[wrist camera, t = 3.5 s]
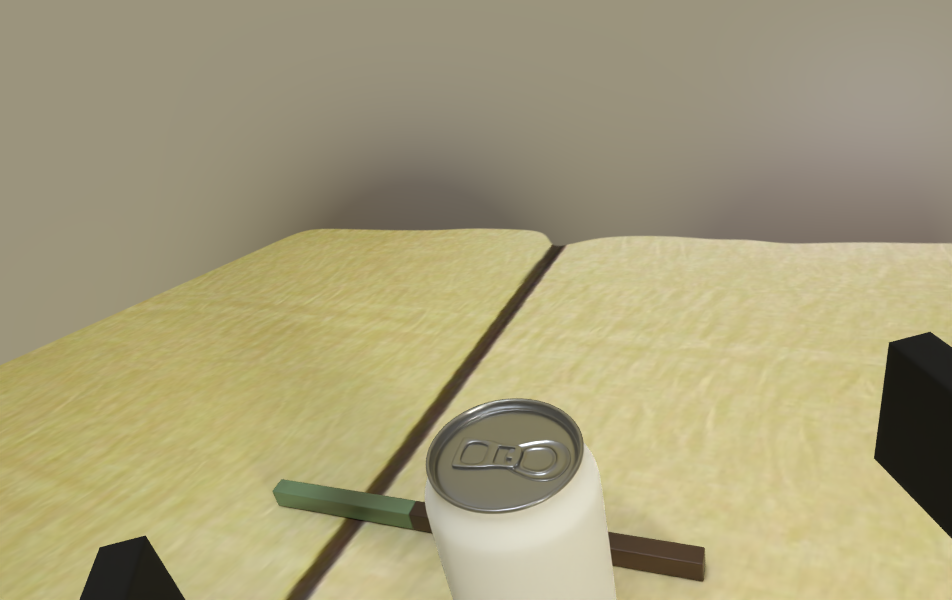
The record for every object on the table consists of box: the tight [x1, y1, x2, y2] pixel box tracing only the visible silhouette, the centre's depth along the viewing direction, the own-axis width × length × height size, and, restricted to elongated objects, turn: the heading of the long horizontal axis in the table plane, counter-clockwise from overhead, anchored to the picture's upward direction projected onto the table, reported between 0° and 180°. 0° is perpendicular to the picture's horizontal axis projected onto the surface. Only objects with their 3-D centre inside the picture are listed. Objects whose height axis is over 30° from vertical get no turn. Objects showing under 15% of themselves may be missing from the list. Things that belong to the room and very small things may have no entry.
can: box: [425, 399, 617, 600], centre depth 28 cm, size 6×6×12 cm
